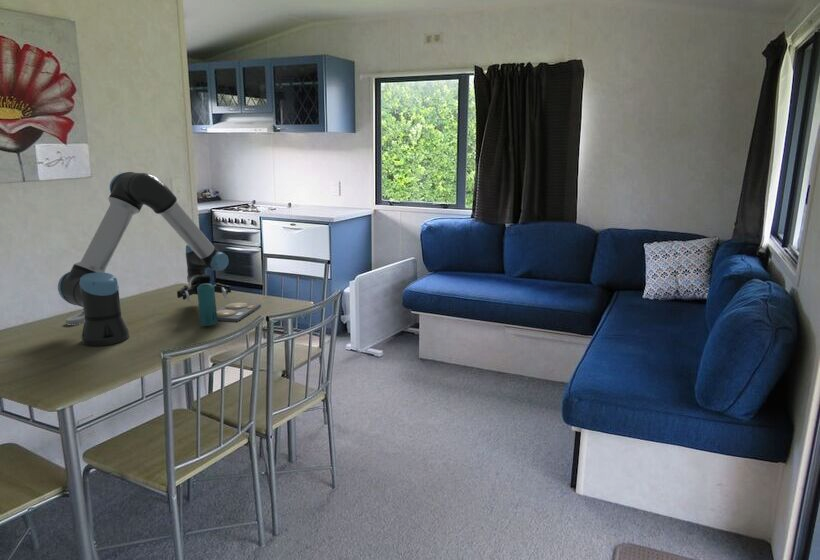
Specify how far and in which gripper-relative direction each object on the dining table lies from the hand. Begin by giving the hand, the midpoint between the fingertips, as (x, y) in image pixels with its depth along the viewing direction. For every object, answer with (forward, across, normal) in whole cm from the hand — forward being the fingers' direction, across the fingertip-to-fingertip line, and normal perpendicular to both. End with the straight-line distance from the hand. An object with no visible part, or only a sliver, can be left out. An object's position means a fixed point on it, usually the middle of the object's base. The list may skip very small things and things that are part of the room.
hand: (207, 296), depth 229 cm
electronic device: (-27, +44, -11) cm, 53 cm away
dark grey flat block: (-11, -11, -11) cm, 19 cm away
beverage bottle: (+4, +1, -11) cm, 12 cm away
